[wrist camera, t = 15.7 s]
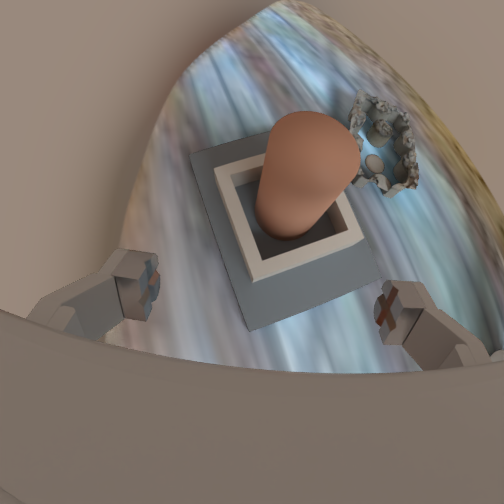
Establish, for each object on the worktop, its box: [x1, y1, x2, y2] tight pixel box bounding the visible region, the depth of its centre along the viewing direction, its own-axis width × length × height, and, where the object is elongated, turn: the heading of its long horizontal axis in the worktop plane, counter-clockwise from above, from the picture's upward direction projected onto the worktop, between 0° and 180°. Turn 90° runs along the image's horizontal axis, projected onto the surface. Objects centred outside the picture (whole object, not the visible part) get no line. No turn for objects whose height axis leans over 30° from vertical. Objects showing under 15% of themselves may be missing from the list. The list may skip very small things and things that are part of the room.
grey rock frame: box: [348, 89, 419, 198], centre depth 26 cm, size 11×8×4 cm
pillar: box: [255, 111, 361, 241], centre depth 19 cm, size 5×5×10 cm
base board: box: [189, 131, 382, 332], centre depth 24 cm, size 12×16×4 cm
